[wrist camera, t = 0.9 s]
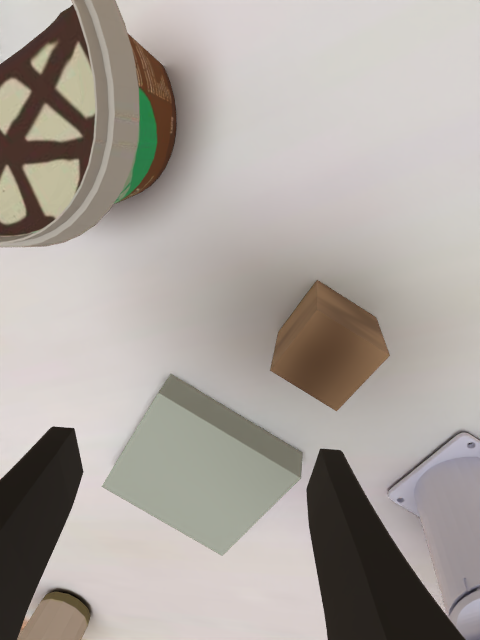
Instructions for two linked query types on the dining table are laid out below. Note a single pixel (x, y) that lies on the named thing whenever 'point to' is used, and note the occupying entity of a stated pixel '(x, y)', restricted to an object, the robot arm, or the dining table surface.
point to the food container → (79, 125)
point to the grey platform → (203, 467)
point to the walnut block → (328, 346)
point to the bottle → (57, 619)
